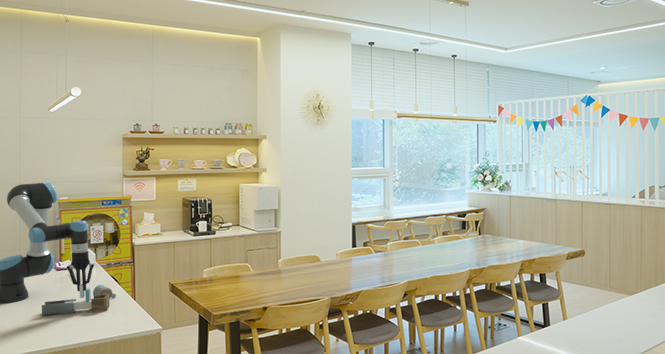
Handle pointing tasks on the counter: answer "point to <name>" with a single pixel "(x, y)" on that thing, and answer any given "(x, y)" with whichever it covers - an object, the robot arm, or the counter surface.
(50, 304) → the channel
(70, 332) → the counter surface
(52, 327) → the counter surface
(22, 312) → the counter surface
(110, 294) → the ceramic mug
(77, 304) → the rod
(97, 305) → the socket
